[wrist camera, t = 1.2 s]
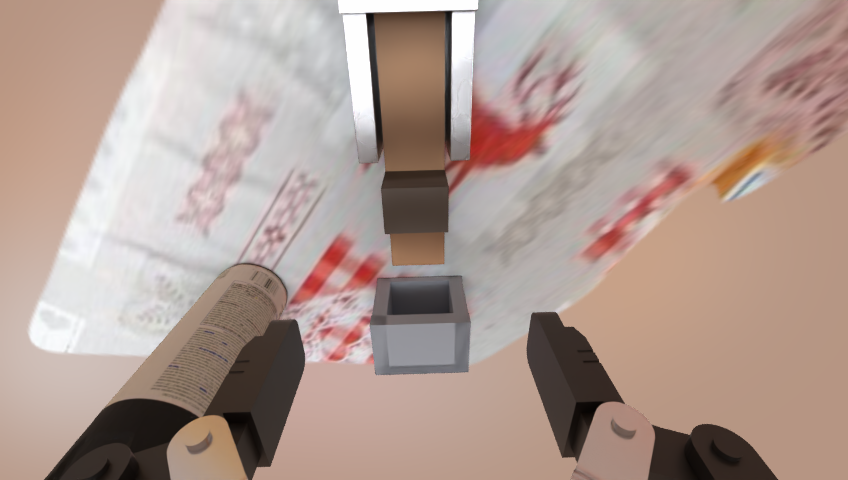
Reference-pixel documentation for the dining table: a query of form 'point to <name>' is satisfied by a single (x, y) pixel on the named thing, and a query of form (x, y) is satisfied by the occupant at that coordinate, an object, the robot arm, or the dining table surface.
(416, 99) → the walnut bar
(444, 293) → the socket
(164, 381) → the spray can
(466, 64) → the channel
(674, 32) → the dining table surface
